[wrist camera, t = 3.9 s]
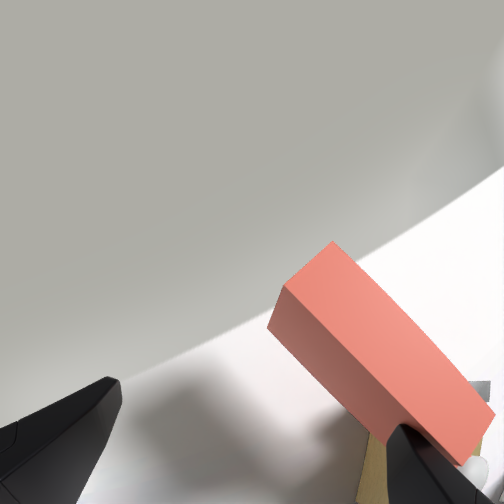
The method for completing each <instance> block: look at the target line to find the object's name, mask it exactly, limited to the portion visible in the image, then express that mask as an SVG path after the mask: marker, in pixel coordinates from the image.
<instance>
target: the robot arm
mask: <svg viewBox="0 0 504 504" xmlns="http://www.w3.org/2000/svg"><path fill="white" fill-rule="evenodd" d="M121 405H122V392H121V385H120V382H119V380H117V379H114V378H111V377H108V376H107V377H104V378H102V379H100V380H98V381H96V382H95V383H92V384H91V385H88V386H87V387H85V388H83V389H81V390H79V391H77V392H75V393H73V394H71V395H69V396H67V397H65V398H63V399H61V400H59V401H57V402H55V403H53V404H51V405H49V406H47V407H45V408H43V409H41V410H39V411H37V412H34V413H32V414H31V415H28V416H26V417H24V418H22V419H20V420H18V421H16V422H13V423H11V424H9V425H7V426H4V427H2V428H0V504H76V503H77V501H78V499H79V497H80V495H81V493H82V491H83V489H84V487H85V485H86V483H87V481H88V479H89V477H90V475H91V473H92V471H93V469H94V467H95V465H96V463H97V462H98V460H99V458H100V456H101V454H102V452H103V450H104V448H105V446H106V444H107V442H108V439H109V437H110V434H111V431H112V428H113V426H114V423H115V421H116V418H117V415H118V413H119V410H120V408H121ZM386 461H387V491H388V499H389V504H495V503H493V502H492V501H491V500H490V499H489V498H488V497H487V496H485V495H484V494H483V493H482V492H481V491H480V490H479V489H478V488H476V486H475V485H474V484H473V483H472V482H471V481H469V480H468V479H467V478H466V477H465V476H464V475H463V474H462V473H461V472H460V471H459V470H458V469H457V468H456V467H455V466H454V465H453V464H452V463H451V462H450V461H449V460H448V459H447V458H446V457H444V456H443V455H442V454H441V453H440V452H439V451H438V450H437V449H436V448H435V447H434V446H433V445H432V444H431V443H430V442H429V441H428V440H427V439H426V438H425V437H424V436H423V435H422V434H421V433H420V432H418V431H417V430H415V429H413V428H412V427H410V426H408V425H406V424H399V425H397V426H396V428H395V429H394V431H393V432H392V434H391V435H390V437H389V438H388V440H387V443H386Z"/></svg>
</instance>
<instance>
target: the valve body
mask: <svg viewBox="0 0 504 504" xmlns="http://www.w3.org/2000/svg"><path fill="white" fill-rule="evenodd" d="M468 382H469V383H470V384H471V386H472V387H473V388H474V389H475V390H476V392H477V393H478V394H479V395H480V396H481V398H482V399H483V400H484V401H485V402H489V397H490V381H468ZM482 438H483V437H482ZM482 438H481V440H480V442H479V443H478V445H477V446H476V448H475V449H474V451H473V452H472V454H471V455H472V456H480V450H481V444H482ZM355 501H356V502H358V503H359V504H389V499H388V491H387V461H386V447H385V446H384V445H383V444H382V443H381V442H380V441H379V440H378V439H377V438H376V437H374V436H373V435H372V434H371V433H370V434H369V439H368V445H367V450H366V456H365V461H364V465H363V470H362V475H361V479H360V483H359V488H358V492H357V496H356V500H355Z"/></svg>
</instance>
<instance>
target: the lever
mask: <svg viewBox="0 0 504 504" xmlns="http://www.w3.org/2000/svg"><path fill="white" fill-rule="evenodd" d="M267 329H268V330H269V331H270V332H271V333H272V334H273V335H274V336H275V337H276V338H277V339H278V340H279V341H280V342H281V344H282V345H283V346H284V347H285V348H286V349H287V350H288V351H289V352H290V353H291V354H292V355H293V356H294V357H295V358H296V359H297V360H298V361H299V362H300V363H301V364H302V365H303V366H304V367H305V368H306V369H307V370H308V371H309V372H310V373H311V374H312V375H313V376H314V377H315V379H316V380H317V381H318V382H319V383H320V384H321V385H322V386H323V387H324V388H325V389H326V390H327V391H328V392H329V393H330V394H331V395H332V396H333V397H334V398H335V399H336V400H337V401H338V402H339V403H340V404H342V405H343V406H344V407H345V408H346V409H347V410H348V411H349V412H350V413H351V414H352V415H353V416H354V417H355V418H356V419H357V420H358V421H359V422H360V423H361V424H362V425H363V426H364V427H365V428H366V429H367V430H368V431H369V432H370V433H371V434H372V435H373V436H374V437H376V438H377V439H378V440H379V441H380V442H381V443H382V444H383V445H384V446H385V447H386V443H387V440H388V438H389V437H390V435H391V434H392V432H393V431H394V429H395V428H396V426H397V425H399V424H406V425H408V426H410V427H412V428H413V429H415V430H417V431H418V432H420V433H421V434H422V435H423V436H424V437H425V438H426V439H427V440H428V441H429V442H430V443H431V444H432V445H433V446H434V447H435V448H436V449H437V450H438V451H439V452H440V453H441V454H442V455H443V456H444V457H446V458H447V459H448V460H449V461H450V462H451V463H452V464H453V465H454V466H455V467H456V468H457V469H458V470H459V471H460V472H461V473H462V474H463V475H464V476H465V477H466V478H467V479H468V480H469V481H471V482H472V483H473V484H474V485H475V486H476V488H478V489H479V490H480V491H481V490H482V489H483V487H484V485H485V483H486V481H487V478H488V472H489V467H488V463H487V461H486V459H485V458H483V457H481V456H472V455H471V454H472V452H473V451H474V449H475V448H476V446H477V445H478V443H479V442H480V440H481V438H482V437H483V435H484V434H485V432H486V430H487V429H488V427H489V425H490V424H491V422H492V420H493V418H494V417H495V413H494V412H493V411H492V410H491V408H490V407H489V406H488V405H487V404H486V402H485V401H484V400H483V399H482V398H481V396H480V395H479V394H478V393H477V392H476V390H475V389H474V388H473V387H472V386H471V384H470V383H469V382H468V381H467V380H466V379H465V378H464V376H463V375H462V374H461V373H460V372H459V371H458V369H457V368H456V367H455V366H454V365H453V364H452V363H451V362H450V360H449V359H448V358H447V357H446V356H445V355H444V354H443V353H442V352H441V350H440V349H439V348H438V347H437V346H436V345H435V344H434V343H433V342H432V341H431V339H430V338H429V337H428V336H427V335H426V334H425V333H424V332H423V331H422V330H421V329H420V328H419V327H418V326H417V324H416V323H415V322H414V321H413V320H412V319H411V318H410V317H409V316H408V315H407V314H406V313H405V312H404V311H403V310H402V309H401V308H400V307H399V306H398V305H397V304H396V303H395V302H394V301H393V300H392V299H391V298H390V296H389V295H388V294H387V293H386V292H385V291H384V290H383V289H382V288H381V287H380V286H379V285H378V284H377V283H376V282H375V281H374V280H373V279H372V278H371V277H370V276H369V275H368V274H367V273H365V272H364V271H363V270H362V269H361V268H360V267H359V266H358V265H357V264H356V263H355V262H354V261H353V260H352V259H351V258H350V257H349V256H348V255H347V254H346V253H345V252H344V251H343V250H341V248H340V247H339V246H337V245H336V244H335V243H334V242H333V241H332V242H331V243H330V244H328V245H327V246H326V247H325V248H324V249H323V250H322V251H321V252H320V253H319V254H317V255H316V256H315V257H314V258H313V259H312V260H311V261H310V262H309V263H307V264H306V265H305V266H304V267H303V268H302V269H301V270H300V271H299V272H297V273H296V274H295V275H294V276H293V277H292V278H291V279H289V280H288V281H287V282H286V283H285V284H284V285H283V288H282V290H281V293H280V295H279V298H278V301H277V303H276V306H275V308H274V311H273V313H272V316H271V318H270V321H269V324H268V326H267Z"/></svg>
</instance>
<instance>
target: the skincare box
mask: <svg viewBox="0 0 504 504" xmlns="http://www.w3.org/2000/svg"><path fill="white" fill-rule="evenodd" d="M499 501H500V502H503V503H504V490H503V493H502V495H501V497H500V500H499Z"/></svg>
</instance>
